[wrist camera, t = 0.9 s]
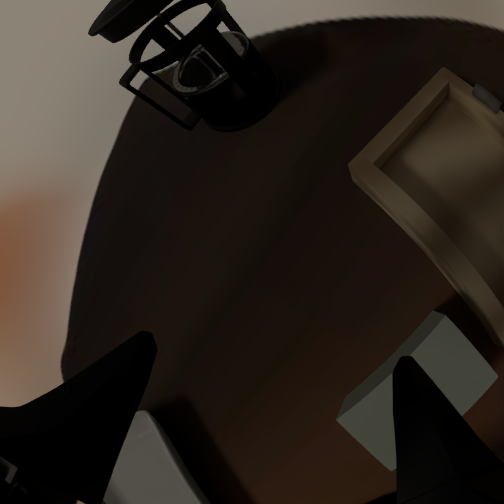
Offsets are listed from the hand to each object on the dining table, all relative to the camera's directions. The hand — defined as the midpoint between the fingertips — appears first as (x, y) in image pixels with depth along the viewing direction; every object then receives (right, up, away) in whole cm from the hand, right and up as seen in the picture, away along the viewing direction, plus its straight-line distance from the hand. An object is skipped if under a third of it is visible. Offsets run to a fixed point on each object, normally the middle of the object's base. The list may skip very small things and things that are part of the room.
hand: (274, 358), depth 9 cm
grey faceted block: (+11, -6, +7) cm, 14 cm away
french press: (-2, +20, +17) cm, 26 cm away
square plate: (-13, -31, +16) cm, 37 cm away
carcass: (+16, +7, +6) cm, 19 cm away
